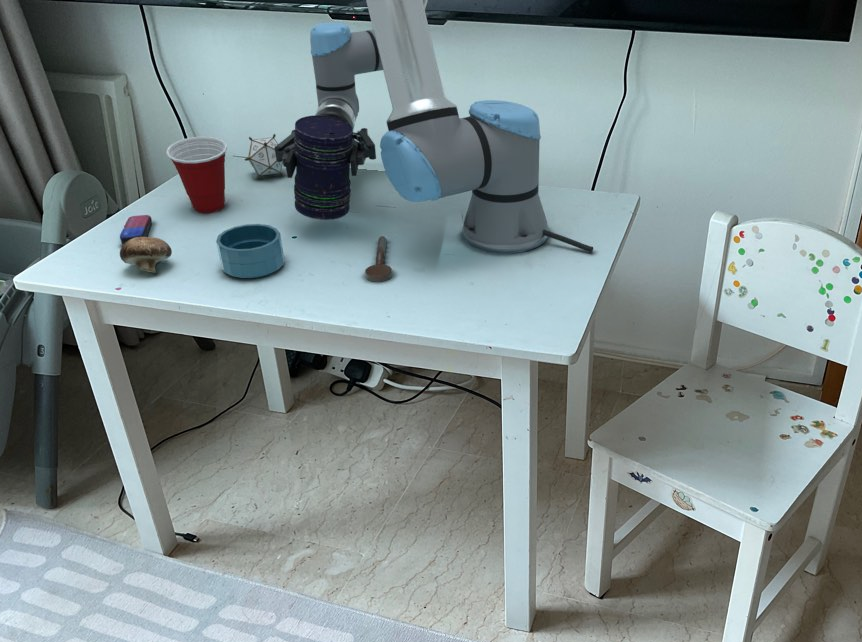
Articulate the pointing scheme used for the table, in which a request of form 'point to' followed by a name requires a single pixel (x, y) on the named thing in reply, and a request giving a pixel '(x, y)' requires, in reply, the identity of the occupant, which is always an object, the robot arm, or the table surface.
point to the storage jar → (322, 166)
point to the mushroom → (145, 252)
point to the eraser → (136, 227)
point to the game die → (264, 156)
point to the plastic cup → (201, 171)
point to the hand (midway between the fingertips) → (320, 169)
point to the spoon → (379, 264)
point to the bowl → (250, 250)
